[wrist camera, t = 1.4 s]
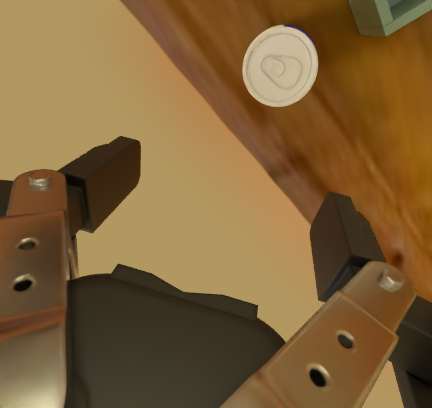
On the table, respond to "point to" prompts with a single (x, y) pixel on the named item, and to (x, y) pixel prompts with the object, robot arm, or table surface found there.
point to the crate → (386, 14)
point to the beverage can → (280, 66)
